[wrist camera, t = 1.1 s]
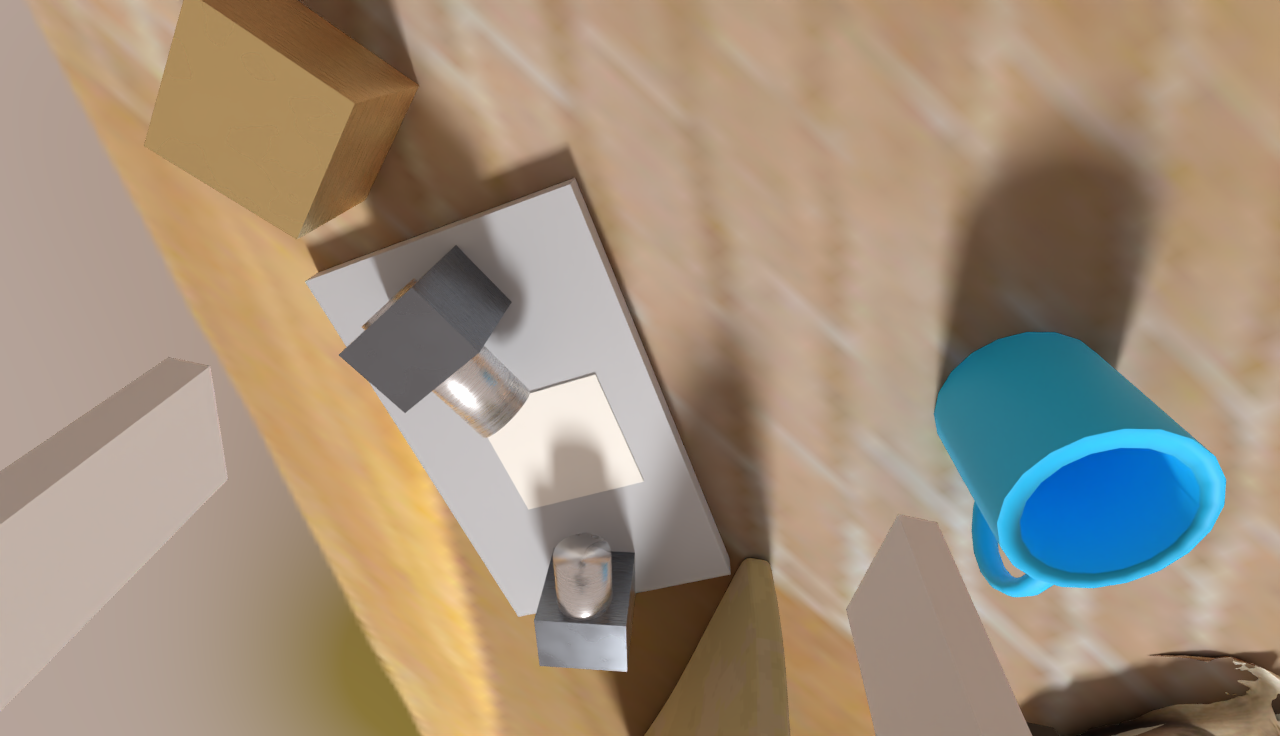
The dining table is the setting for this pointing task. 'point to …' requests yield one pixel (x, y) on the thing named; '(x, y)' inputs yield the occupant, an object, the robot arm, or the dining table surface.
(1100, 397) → the mug
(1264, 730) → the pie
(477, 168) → the dining table surface
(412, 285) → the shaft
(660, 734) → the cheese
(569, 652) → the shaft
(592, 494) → the grey base plate
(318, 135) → the block
